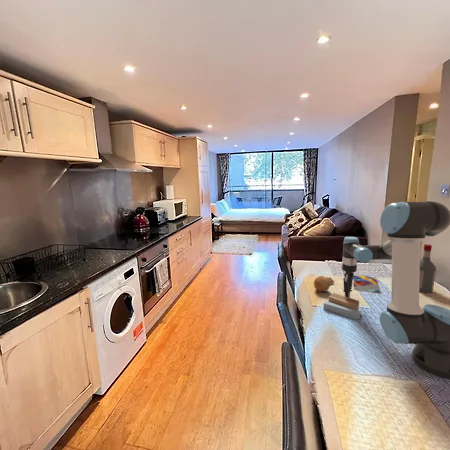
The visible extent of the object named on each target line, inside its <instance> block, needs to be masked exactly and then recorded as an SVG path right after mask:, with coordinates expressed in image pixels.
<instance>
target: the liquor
mask: <svg viewBox="0 0 450 450" xmlns="http://www.w3.org/2000/svg"><path fill="white" fill-rule="evenodd" d="M432 247H433V246H432V244H424V245H423V253H422V258H421V259H420V273H419V293H422V292H424V293H426V294H431V293H433V291H434V285H435V280H436V273H437V268H436V266H435V264H434V262H432V261H431V255H432V253H431V251H432ZM424 293H423V294H424Z"/></svg>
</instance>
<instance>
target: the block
mask: <svg viewBox="0 0 450 450" xmlns="http://www.w3.org/2000/svg"><path fill="white" fill-rule="evenodd" d="M327 302H330V303H334V304H337V305H341V306H344V307H348V308H351V309H355V310H358V311H360V310H359V308H360V300H358V299H355V298H352V297H350V298H349V297H346V296H345V295H343V294H340V293H336V292H333V293H331V295H329V296H328V301H327Z"/></svg>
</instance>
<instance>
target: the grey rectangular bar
mask: <svg viewBox="0 0 450 450" xmlns="http://www.w3.org/2000/svg"><path fill="white" fill-rule="evenodd" d="M323 309H324V310H327V311H330V312H331V313H335V312H336V314H338V315H343V316H346V317H347V318H348V317H349V318H351V319H355V320H359V319H360V317H361V311H360V310H355V309H351V308H348V307H344V306H341V305H337V304H334V303H330V302H328V301H327V300H325V301H324V302H323Z"/></svg>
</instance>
